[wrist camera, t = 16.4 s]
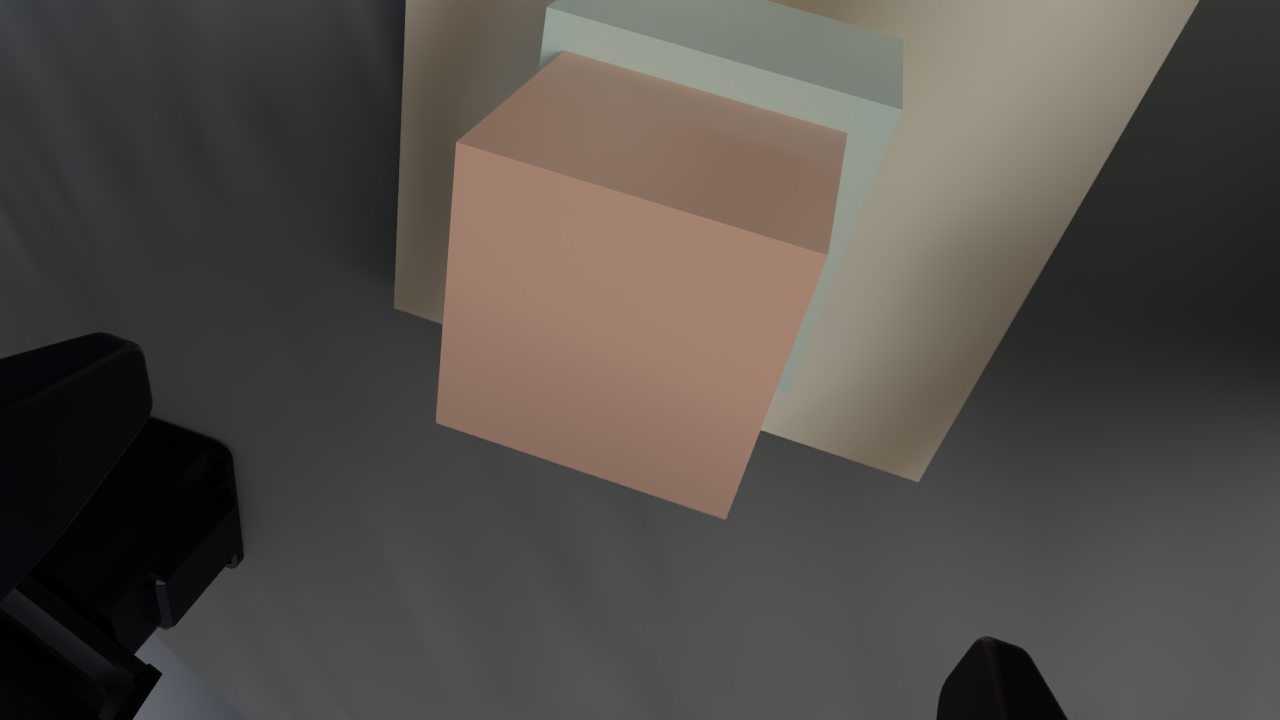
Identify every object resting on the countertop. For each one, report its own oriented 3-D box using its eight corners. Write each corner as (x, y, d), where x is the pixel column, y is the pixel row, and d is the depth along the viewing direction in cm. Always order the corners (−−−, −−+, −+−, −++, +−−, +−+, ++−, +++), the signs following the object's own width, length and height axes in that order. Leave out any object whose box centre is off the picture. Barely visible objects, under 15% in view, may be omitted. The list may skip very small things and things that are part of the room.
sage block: (573, 215, 19) (508, 303, 16) (618, -42, 16) (546, 6, 13) (808, 287, 19) (788, 394, 16) (903, 39, 16) (902, 110, 12)
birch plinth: (428, 271, 24) (393, 307, 22) (472, -377, 15) (421, -394, 14) (917, 431, 23) (918, 482, 21) (1252, -172, 14) (1294, -164, 13)
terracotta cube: (529, 291, 16) (435, 423, 13) (564, 50, 13) (455, 142, 10) (762, 364, 16) (725, 519, 12) (847, 132, 13) (827, 255, 10)
